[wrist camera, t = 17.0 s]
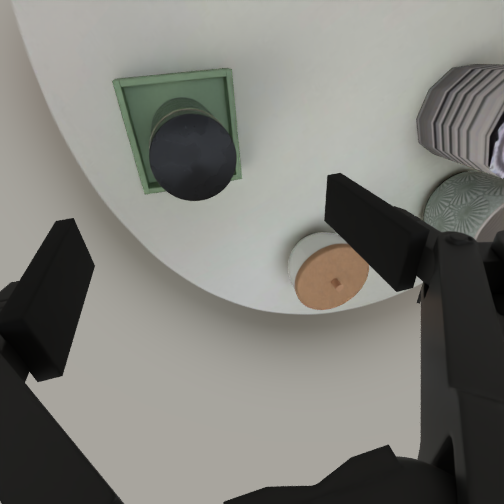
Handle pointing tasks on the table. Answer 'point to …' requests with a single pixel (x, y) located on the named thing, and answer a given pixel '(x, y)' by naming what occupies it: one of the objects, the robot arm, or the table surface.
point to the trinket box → (326, 271)
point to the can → (466, 117)
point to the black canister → (190, 150)
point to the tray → (163, 89)
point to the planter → (468, 205)
